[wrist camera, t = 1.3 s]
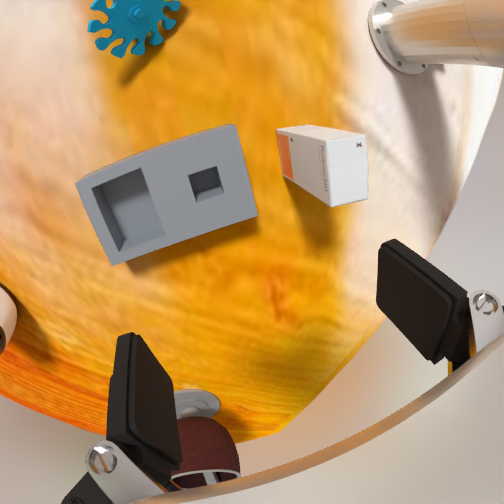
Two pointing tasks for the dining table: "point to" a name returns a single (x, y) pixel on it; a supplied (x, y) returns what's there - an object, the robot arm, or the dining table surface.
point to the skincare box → (325, 162)
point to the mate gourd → (203, 442)
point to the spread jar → (6, 317)
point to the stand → (169, 193)
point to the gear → (132, 23)
